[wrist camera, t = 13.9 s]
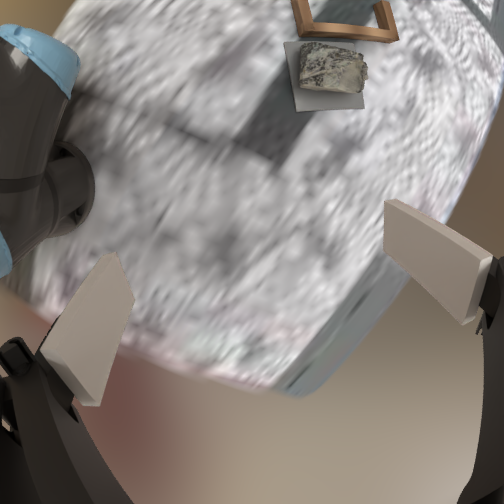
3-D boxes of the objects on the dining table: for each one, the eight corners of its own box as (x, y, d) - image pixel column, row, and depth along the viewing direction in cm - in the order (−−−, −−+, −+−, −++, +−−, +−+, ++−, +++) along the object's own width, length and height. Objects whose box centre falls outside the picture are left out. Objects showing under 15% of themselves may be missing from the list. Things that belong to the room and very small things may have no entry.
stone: (367, 32, 23) (324, 85, 25) (384, 80, 31) (349, 128, 34) (307, 18, 27) (265, 65, 30) (332, 61, 36) (298, 104, 38)
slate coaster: (295, 112, 36) (296, 111, 36) (283, 43, 31) (284, 41, 31) (362, 108, 37) (364, 108, 36) (351, 44, 32) (353, 43, 31)
